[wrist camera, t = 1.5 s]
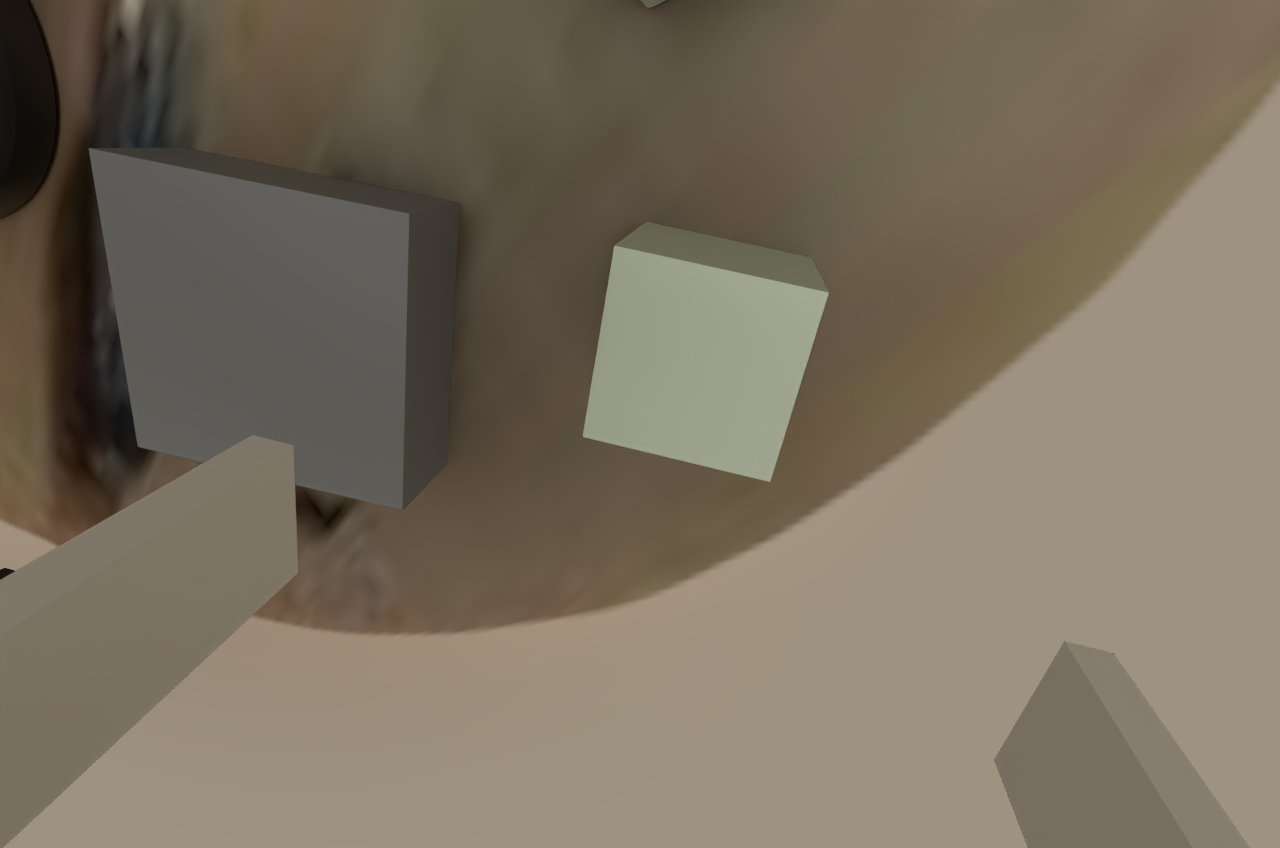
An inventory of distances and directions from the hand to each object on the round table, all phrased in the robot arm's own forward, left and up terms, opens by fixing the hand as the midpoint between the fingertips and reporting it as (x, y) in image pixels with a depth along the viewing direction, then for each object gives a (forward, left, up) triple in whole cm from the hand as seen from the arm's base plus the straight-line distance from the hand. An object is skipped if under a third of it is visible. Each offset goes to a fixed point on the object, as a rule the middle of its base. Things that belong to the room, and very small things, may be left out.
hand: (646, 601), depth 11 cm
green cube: (0, 0, -19) cm, 19 cm away
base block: (-18, -4, -20) cm, 27 cm away
